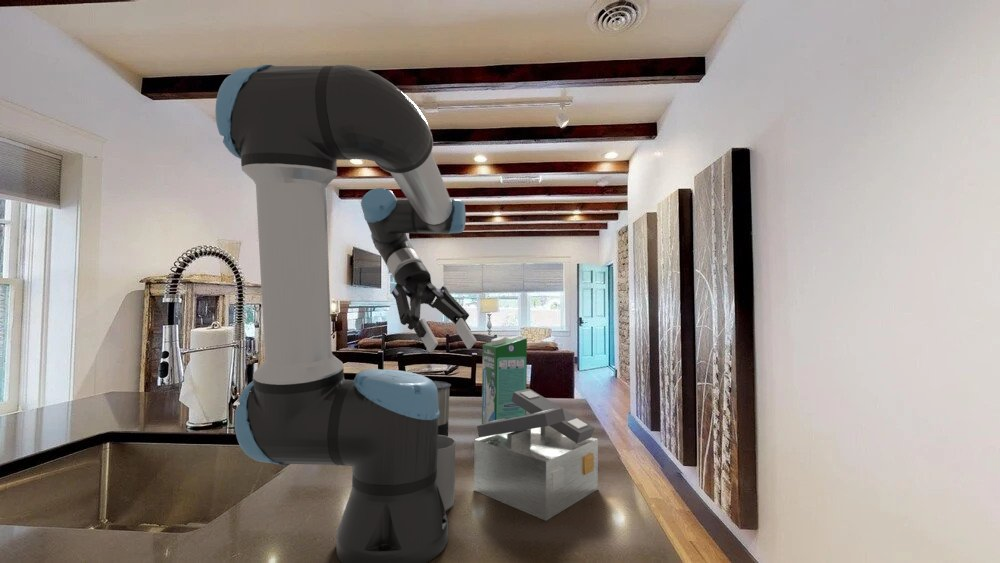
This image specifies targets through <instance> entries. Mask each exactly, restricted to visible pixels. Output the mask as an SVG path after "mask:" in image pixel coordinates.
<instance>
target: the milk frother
mask: <svg viewBox="0 0 1000 563" xmlns="http://www.w3.org/2000/svg"><path fill="white" fill-rule="evenodd" d="M432 381H433V382H434V383H435V385H436V387H437V391H438V409H439V411H440V414H439V417H438V435H443V436H448V437H449V418H450V417H449V415H450V387H452V384H451V383H448V382H446V381H440V380H439V381H437V380H432Z"/></svg>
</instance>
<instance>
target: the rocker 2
mask: <svg viewBox="0 0 1000 563" xmlns="http://www.w3.org/2000/svg"><path fill="white" fill-rule="evenodd" d="M511 401H512V402H513V403H515V404H516V405H518V406H519V407H521V408H523V409H524V410H526V413H529V414H534V413H537V412H541V411H545V410H550V409H560V408H562V406H560V405H558V404H556V403H555V402H553V401H551V400H549V399H547V398H546V397H544V396H542V395H541V394H539V393H537V392H536V391H534V390H533V389H531V388H526V389H525V390H520V391H516V392H514V393H513V396H512V400H511ZM563 412H564V416H565V421H562V422H559V423H556V424H553V425H550V427H552V428H554V429H555V430H557V431H558V432H560V433H561V434H563V435H564V436H566V437H567V438H569V439H571V440H572V441H574V442H575V443H579V442H582V441H584V440H587V439H589V438H593V435H594V430H595V426H594V425H592V424H589V423H588V422H587V421H584V420H583V419H581V418H579V417H578V416H576V415H574V414H573V413H571V412H569V411H568V410H566V409H564V408H563Z"/></svg>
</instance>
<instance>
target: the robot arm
mask: <svg viewBox="0 0 1000 563" xmlns="http://www.w3.org/2000/svg"><path fill="white" fill-rule="evenodd" d="M215 100H216V101H215V111H214V112H215V121H216V128H217V130H218V133H219V135H220V136H222V137H223V139H222V143H223V145H224V146H225V148H226V149H227V151H229V152H230V154H232V155H233V157H236V158H238V159H239V160H240V162H241V164H240V165H241V171H242V172H243V173H244V174H245V175H247V176H248V178H250V179H251V180H252V181H253V182H254V184H255V191H256V192H255V194H256V195H255V197H256V212H257V214H256V216H257V231H258V232H257V233H258V235H257V236H258V249H259V250H258V252H259V270H260V287H261V288H260V289H261V302H262V303H261V305H262V306H261V308H262V309H261V310H262V324H263V325H262V326H263V341H264V342H263V346H264V361H263V363H262V364H260V366H258V368H257V369H256V370H255V371H254V372H253V373H252V374H253V375H252V378H253V380H252V381H251V382H249V383H248V384H247V385H246V386H245V387H244V389H243V390H242V392H241V394H240V396H239V397H238V403H239V406H237V407H235V412H234V431H235V435H236V436H235V437H236V441H237V443H238V444H239V446H240V448H241V450H242V451H243V453H244V454H245V455H246V456H248V457H249V458H250V459H252V460H254V461H256V462H258V463H259V462H260V463H267V464H269V463H270V464H274V465H277V466H289V465H305V466H307V465H312V466H313V465H314V466H316V465H317V466H347V467H348V466H349V467H351V468H352V469H351V470H352V473H351V474H352V478H351V479H352V481H351V491H350V494H349V496H348V499H347V502H346V505H345V508H344V511H343V514H342V517H341V520H340V522H339V523H340V524H339V526H338V528H337V533H336V555H337V558H338V560H339V561H340V563H429V562H430V561H432V560H434V559H435V558H436V557H438V556H439V555H440V554H441V553H442V552H443V551H444V549H445V548H446V546H447V544H448V540H449V520H448V514H447V513H446V511H445V508H444V505H443V502H442V498H441V495H440V491H439V488H438V485H437V448H438V417H439V414H440V411H439V409H438V391H437V387H436V385H435V383H434V382H433V381H434V380H432V379H430V378H429V377H426V376H425V375H422V374H419V373H415V372H411V371H405V370H398V369H387V368H386V369H385V368H384V369H380V368H369V369H363V370H360V371H358V372H357V373H356V374H355V377H354V379H345V374H344V373H345V371H344V363H343V361H342V360H340V359H339V358H337V357H336V355H334V353H333V351H332V350H333V348H332V323H331V322H332V321H331V320H332V319H331V316H332V315H331V293H330V292H331V291H330V266H329V240H328V212H327V210H328V209H327V208H328V207H327V187H328V185H329V184H330V183H331V182H332V181H333V180H334V179H335V178H336V177H338V169H337V168H338V166H337V164H338V163H337V161H339V160H340V161H343V160H344V161H345V160H365V161H366V160H367V161H372V162H375V164H376V165H377V166H378V167H379V168H380V169H382V170H383V171H385V172H388V173H390V175H391V176H392V178H393V179H394V181H395V182H396V184H397V185H398V188H400V190H401V191H402V193H403V195H404V196H405V197H406V199H405V198H403V199H402V198H401V199H400V198H397V197H396V195H395V194H394V193H393V191H392V190H390V189H387V188H384V187H377V188H373V189H370V190H368V192H366V193H365V194H364V195H363V197H362V198H361V204H360V206H361V209H362V213H363V217H364V219H365V222H366V224H367V225H368V229H369V230H370V231H369V232H370V233H371V234H370V237H371V240H372V244H373V245H374V248H375V250H377V251H378V253H379V255H380V256H381V258H382V260H383V262H384V263H385V266H386V267H387V269H388V270H389V272H390V274H391V276H392V278H393V279H394V281H395V286H394V287H393V289H392V291H391V295H392V296H393V297H394V299H395V303H396V308H397V313H398V317H399V321H400V324H401V325H403V326H406V325H407V328H408V329H409V330H410V331H412V330H414V332H415V333H416V335H417V337H418V338H420V339H421V341H422V343H423V345H424V347H425V348H426V350H427V352H428V353H433V351H434V350H435V349H436V347H437V346H438V344H439V342H438V340H437V338H436V336H435V335H434V333H433V331H432V329H431V327H430V326H429V325H428V323H427V321H426V320H425V318H421V308H422V307H421V305H424V304H425V305H428V306H429V307H431V308H432V309H436V310H437V311H439V312H440V313H441V314H442V315H443V316H445V317H446V318H447V319H448V320H449V321H451V322H452V323H453V324H454V326H453V328H454V329H455V331H456V332H457V334H458V335H459V338H460V339H461V340H462V342H463V343H464V346H465V347H466V348H467V350H471V349H472V347H473V346H474V345H475V344H476V342H478V341H477V338H476V337H475V336H474V333H473V332H472V330H471V328H470V325H469V324H468V323H467V322H466V321H467V319H468V318H469V317H470V314H469V312H467V310H466V309H465V308H464V307H463V306H462V304H460V303H459V302H458V300H456V299H455V298H454V297H453V295H451V293H450V292H449V291H448V288H447V287H446V286H443V285H442V286H441V287H440V288H439V287H438V288H437V287H436V286H435V285H434V284H433V283H432V278H431V277H432V276H431V273H430V272H429V271H428V269H427V267H426V266H425V264H424V262H423V260H422V259H421V258H420V256H419V254H418V253H417V252H416V250H415V249H414V247H413V246H412V244H411V242H410V241H409V238H408V236H407V234H445V235H450V234H462V233H463V232H464V230H465V228H466V218H467V217H466V215H467V214H466V206H465V202H464V201H463V200H462V199H457V198H456V199H455V198H451V197H450V194H449V192H448V189H447V187H446V185H445V182H444V180H443V176H442V174H441V172H440V169H439V168H438V165H437V163H436V160H435V157H434V155H433V152H432V151H433V147H434V139H433V134H432V131H431V129H430V126H429V123H428V121H427V120H426V117H425V116H424V115H423V113H422V112H421V110H420V109H419V107H418V106H417V104H415V103H414V101H412V100H411V99H410V98H409V96H408V95H407V94H406V93H404V91H402V90H400V88H399V87H397V86H395V84H393V83H392V82H391V81H389V80H387V79H386V78H384V77H383V76H381V75H379V74H377V73H375V72H373V71H371V70H369V69H366V68H363V67H359V66H356V65H349V64H336V65H273V64H262V65H259V66H258V65H257V66H253V67H252V66H251V67H242V68H237V69H235V70H234V71H232V72H231V74H229V75H228V76H227V77H225V79H224V80H223V81H222V83H221V85H220V86H219V89H218V92H217V95H216V99H215ZM408 298H409V300H408Z"/></svg>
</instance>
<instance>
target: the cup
mask: <svg viewBox="0 0 1000 563" xmlns="http://www.w3.org/2000/svg"><path fill="white" fill-rule="evenodd" d="M455 481H456V440H455V439H454V438H453V437H450V436H449V435H448V436H443V435H438V448H437V485H438V488H439V491H440V495H441V498H442V502H443V505H444V508H445V512H446V511H447V510H450V508H452V507H453V506H454V503H455V494H456V493H455V491H456V490H455V488H456V486H455V485H456V482H455Z"/></svg>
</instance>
